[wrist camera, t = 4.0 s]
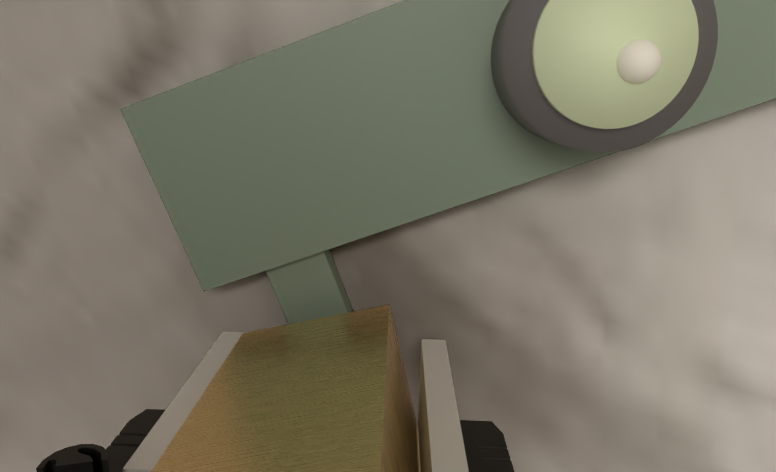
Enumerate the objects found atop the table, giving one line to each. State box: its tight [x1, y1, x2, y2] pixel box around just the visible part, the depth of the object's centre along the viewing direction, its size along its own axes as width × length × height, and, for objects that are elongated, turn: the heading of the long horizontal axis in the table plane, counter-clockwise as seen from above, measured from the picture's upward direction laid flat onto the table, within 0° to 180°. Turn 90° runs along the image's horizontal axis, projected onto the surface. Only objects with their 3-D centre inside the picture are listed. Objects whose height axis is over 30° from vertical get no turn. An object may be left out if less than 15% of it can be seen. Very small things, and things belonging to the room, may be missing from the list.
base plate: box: [121, 0, 776, 324], centre depth 15 cm, size 12×26×4 cm, turn 109°
